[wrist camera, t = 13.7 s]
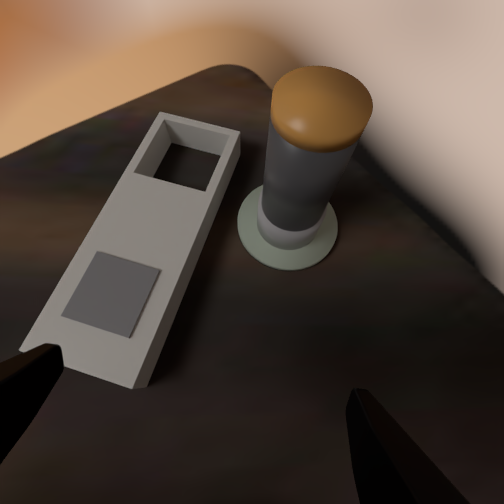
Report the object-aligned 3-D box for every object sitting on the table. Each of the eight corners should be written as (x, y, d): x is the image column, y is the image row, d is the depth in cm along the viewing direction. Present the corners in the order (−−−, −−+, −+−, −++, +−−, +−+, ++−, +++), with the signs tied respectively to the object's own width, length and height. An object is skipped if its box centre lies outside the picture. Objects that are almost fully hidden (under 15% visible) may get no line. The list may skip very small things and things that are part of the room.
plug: (323, 205, 27) (383, 75, 15) (310, 257, 24) (370, 154, 13) (266, 189, 27) (282, 53, 16) (249, 240, 25) (253, 125, 13)
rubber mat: (343, 197, 28) (345, 194, 27) (325, 283, 24) (327, 281, 24) (253, 174, 28) (253, 170, 28) (224, 254, 25) (223, 251, 24)
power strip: (240, 154, 29) (240, 130, 26) (146, 387, 21) (130, 389, 18) (167, 135, 30) (159, 109, 27) (47, 353, 21) (16, 350, 19)
